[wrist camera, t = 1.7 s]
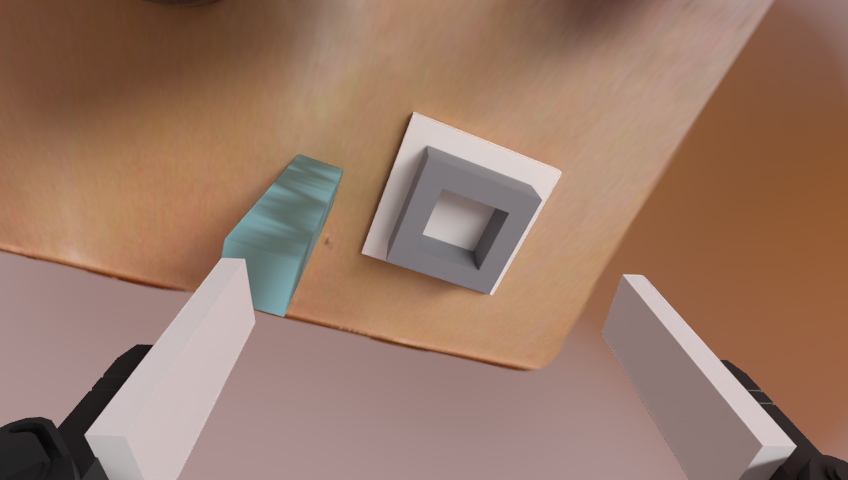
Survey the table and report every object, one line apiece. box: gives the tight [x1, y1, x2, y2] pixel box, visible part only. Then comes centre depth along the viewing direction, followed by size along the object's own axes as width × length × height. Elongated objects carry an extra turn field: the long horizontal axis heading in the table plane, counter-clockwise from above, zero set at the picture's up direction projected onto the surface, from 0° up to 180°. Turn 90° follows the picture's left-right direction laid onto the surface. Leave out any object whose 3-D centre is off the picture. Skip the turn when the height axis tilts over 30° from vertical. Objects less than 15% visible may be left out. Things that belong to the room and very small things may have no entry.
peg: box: [221, 154, 343, 317], centre depth 30 cm, size 4×4×16 cm
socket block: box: [361, 111, 562, 296], centre depth 37 cm, size 14×14×4 cm
